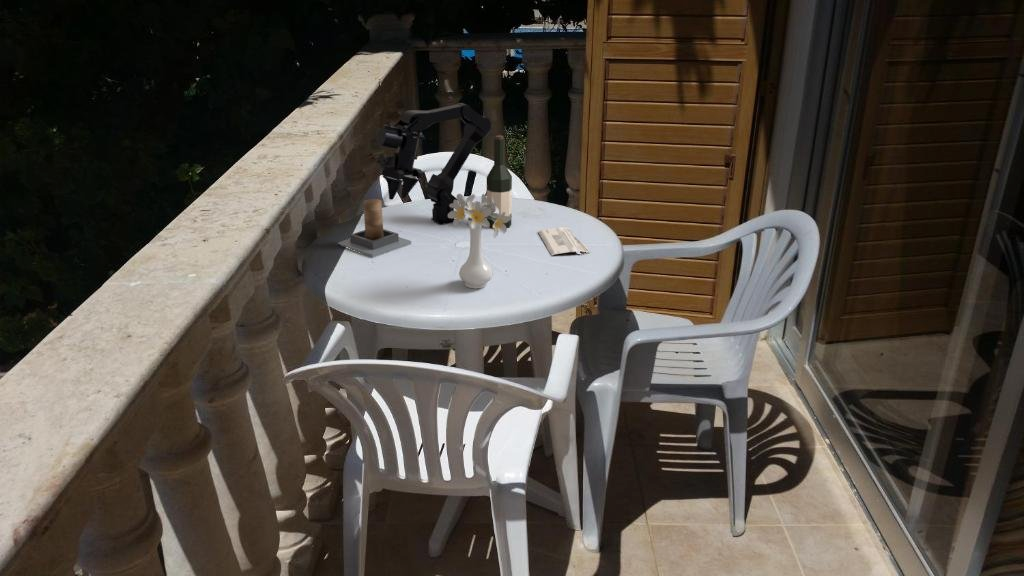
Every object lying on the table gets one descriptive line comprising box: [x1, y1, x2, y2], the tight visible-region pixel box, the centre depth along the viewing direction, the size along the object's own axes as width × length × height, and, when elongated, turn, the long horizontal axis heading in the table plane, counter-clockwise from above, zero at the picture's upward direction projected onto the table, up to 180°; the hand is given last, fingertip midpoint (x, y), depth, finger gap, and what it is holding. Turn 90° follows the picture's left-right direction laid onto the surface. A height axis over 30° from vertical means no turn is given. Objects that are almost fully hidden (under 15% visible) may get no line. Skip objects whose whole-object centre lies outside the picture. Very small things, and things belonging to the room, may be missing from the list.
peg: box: [362, 198, 384, 241], centre depth 250 cm, size 6×6×13 cm
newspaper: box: [537, 226, 591, 257], centre depth 257 cm, size 23×12×2 cm, turn 9°
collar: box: [337, 228, 412, 258], centre depth 252 cm, size 16×16×4 cm
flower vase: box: [448, 193, 513, 290], centre depth 220 cm, size 13×18×25 cm
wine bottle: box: [486, 134, 513, 230], centre depth 266 cm, size 8×8×30 cm
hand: (397, 198), depth 262 cm, fingers open, 9 cm apart
